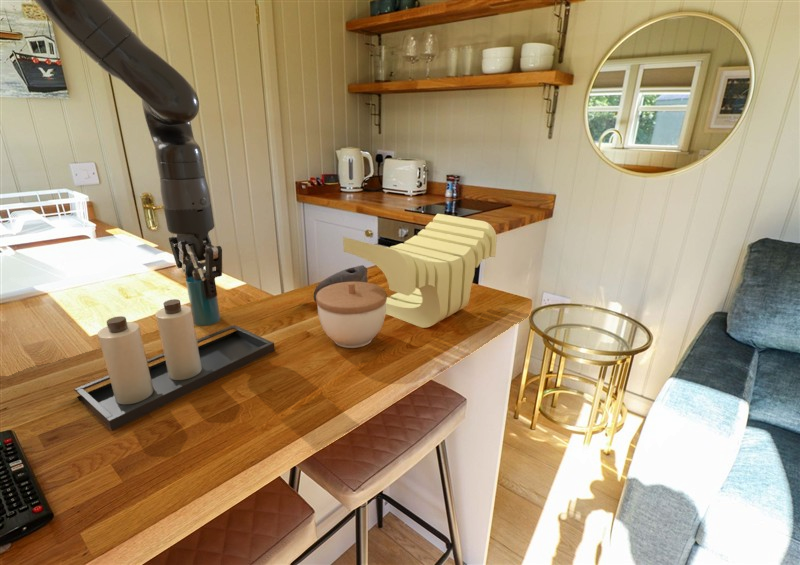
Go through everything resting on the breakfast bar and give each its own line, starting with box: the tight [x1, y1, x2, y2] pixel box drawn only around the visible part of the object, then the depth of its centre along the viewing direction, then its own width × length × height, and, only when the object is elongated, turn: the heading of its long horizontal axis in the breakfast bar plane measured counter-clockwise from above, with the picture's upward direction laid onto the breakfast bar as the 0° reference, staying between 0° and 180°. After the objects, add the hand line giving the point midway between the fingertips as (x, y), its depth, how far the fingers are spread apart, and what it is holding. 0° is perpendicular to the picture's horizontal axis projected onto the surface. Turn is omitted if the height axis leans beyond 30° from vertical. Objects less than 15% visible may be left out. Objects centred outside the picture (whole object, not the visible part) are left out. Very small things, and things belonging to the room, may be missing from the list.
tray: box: [73, 324, 276, 432], centre depth 67 cm, size 12×26×2 cm, turn 144°
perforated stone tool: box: [313, 264, 369, 304], centre depth 94 cm, size 15×5×7 cm, turn 133°
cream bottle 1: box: [97, 315, 154, 405], centre depth 59 cm, size 5×5×12 cm
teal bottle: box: [185, 268, 221, 327], centre depth 80 cm, size 5×5×12 cm
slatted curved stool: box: [342, 213, 498, 329], centre depth 88 cm, size 30×16×18 cm, turn 139°
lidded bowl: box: [315, 282, 388, 349], centre depth 77 cm, size 13×13×11 cm
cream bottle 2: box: [154, 298, 202, 380], centre depth 65 cm, size 5×5×12 cm
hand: (202, 293), depth 79 cm, fingers closed on teal bottle, 5 cm apart
